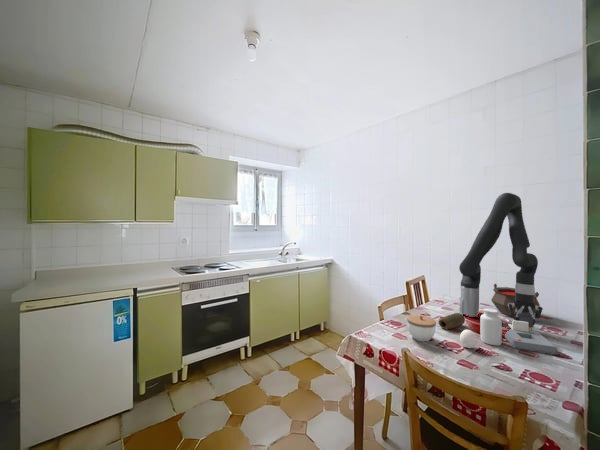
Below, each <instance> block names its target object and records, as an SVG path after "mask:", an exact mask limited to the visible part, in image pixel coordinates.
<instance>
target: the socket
mask: <svg viewBox="0 0 600 450" xmlns="http://www.w3.org/2000/svg"><path fill="white" fill-rule="evenodd" d="M502 328H505V326H502ZM510 328H511V327H510ZM504 338H505V339H506V340H507V341H508V343H509V344H510V345H511V346H512V347H513V348H514V349H517V350H525V351H532V352H537V353H545V354H550V355H551V354H552V355H556V354H557V353H556V350H557V347H556V345H554V344H553V343H551V341H549V340H548V339H547V338H546V337H544V336H543V335H542V334H541V333H539V332H538V331H535V330H531V331H530V330H528V332H526V331H519V330H513V329H512V328H511V329H510V330H509V331H507V332H506V334H505V337H504Z"/></svg>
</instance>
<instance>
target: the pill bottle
mask: <svg viewBox="0 0 600 450" xmlns="http://www.w3.org/2000/svg"><path fill="white" fill-rule="evenodd" d="M479 317H480V318H479V319H480V320H479V321H480V326H479V327H480V330H479V331H480V340H481V342H483V343H484V344H487V345H491V346H501V345H502V340H503V339H502V338H503V337H502V335H503V334H502V327H503V324H502V323H503V322H502V318H501V317H500V316H499V310H498V309H494V308H483V314H481V315H480V316H479Z"/></svg>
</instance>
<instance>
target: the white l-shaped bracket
mask: <svg viewBox="0 0 600 450" xmlns="http://www.w3.org/2000/svg"><path fill="white" fill-rule="evenodd" d="M507 325H508V327H509V328H512V329H513V330H519V331H526V332H528V325H529V323H528V322H524V321H515V320H514V319H513V320H512V321H511V323H508V324H507Z"/></svg>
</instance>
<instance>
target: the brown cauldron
mask: <svg viewBox="0 0 600 450" xmlns="http://www.w3.org/2000/svg"><path fill="white" fill-rule="evenodd" d="M492 290H493V291H494V294H493V296H492V297H491V299H490V300H491V302H492V304H493V305H494V306H495V307H496V310H497V311H498V312H499V313H500V314H503V315H505V316H507V317H511V318H512V317H513V318H514V316H512V315H511V314H510V312H509V308H508V304H507V303H514V302H515V287H508V286H503V287H502V286H498V284H497V283H494V284H493V289H492ZM539 294H540V293H539V292H538V291H535V302H534V304H535V305H536V306H540V307H541V305H540V303H539V301H538V297H539ZM515 310H516V306H515V305H514V307H513V311H514V313H515ZM532 311H533V314H534V315H535V312H536V309H535V308H534V309H533V310H532ZM521 313H524V314H529V313H528V312H521Z"/></svg>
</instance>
